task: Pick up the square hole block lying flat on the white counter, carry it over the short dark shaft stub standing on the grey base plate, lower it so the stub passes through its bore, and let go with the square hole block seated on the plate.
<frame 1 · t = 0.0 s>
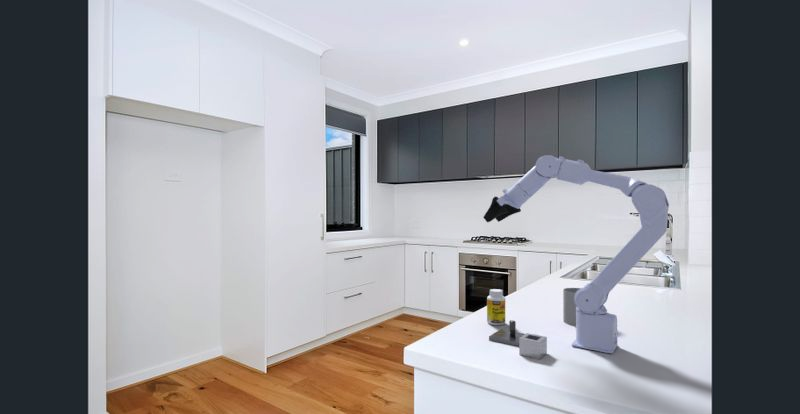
hand: (491, 219, 119), 32 cm above the table, tool tilted 50°, fingers open, 7 cm apart
cup: (577, 323, 123), on the table
square hole block: (533, 353, 97), on the table
supplement bottle: (496, 323, 123), on the table
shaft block: (512, 339, 107), on the table
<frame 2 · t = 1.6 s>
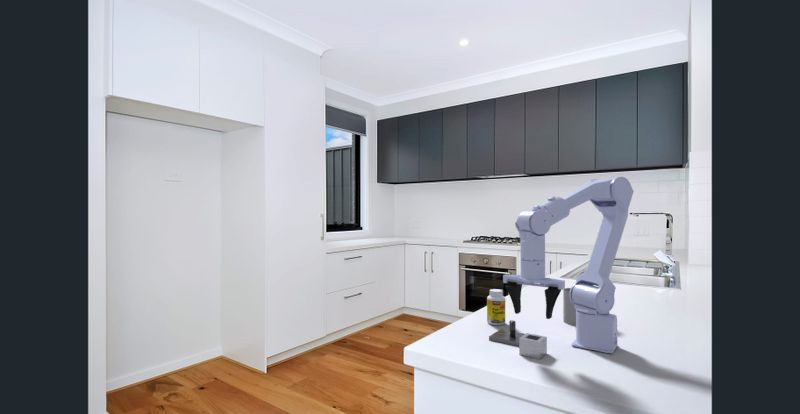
hand: (532, 315, 97), 9 cm above the table, tool pointing down, fingers open, 7 cm apart
nothing on the table moved.
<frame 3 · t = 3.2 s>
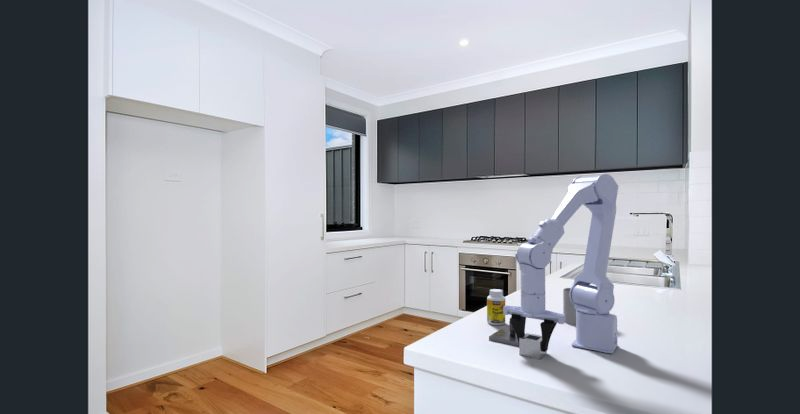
hand: (533, 348, 97), 1 cm above the table, tool pointing down, fingers closed on square hole block, 5 cm apart
square hole block: (533, 353, 97), on the table, touching gripper
everything else where it was.
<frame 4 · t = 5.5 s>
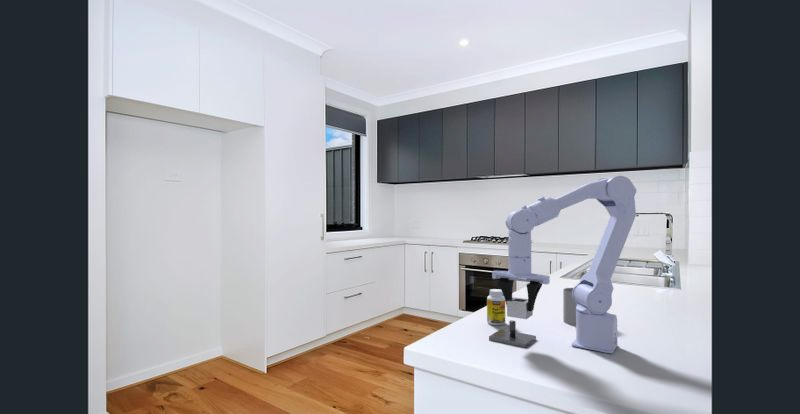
hand: (519, 308, 103), 9 cm above the table, tool pointing down, fingers closed on square hole block, 5 cm apart
square hole block: (519, 315, 103), point 8 cm above the table, touching gripper
everything else where it was.
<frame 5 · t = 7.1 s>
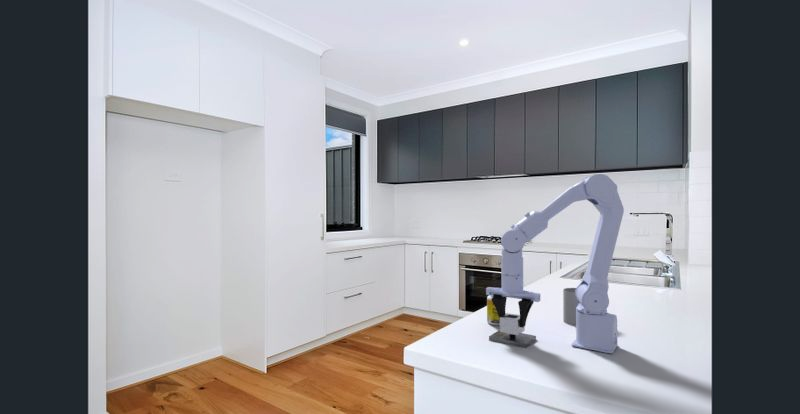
hand: (512, 324, 107), 4 cm above the table, tool pointing down, fingers closed on square hole block, 5 cm apart
square hole block: (512, 331, 107), point 2 cm above the table, touching gripper
everything else where it was.
when the fingers open (4 cm above the table, at t = 8.1 s): square hole block drops 1 cm, resting on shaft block.
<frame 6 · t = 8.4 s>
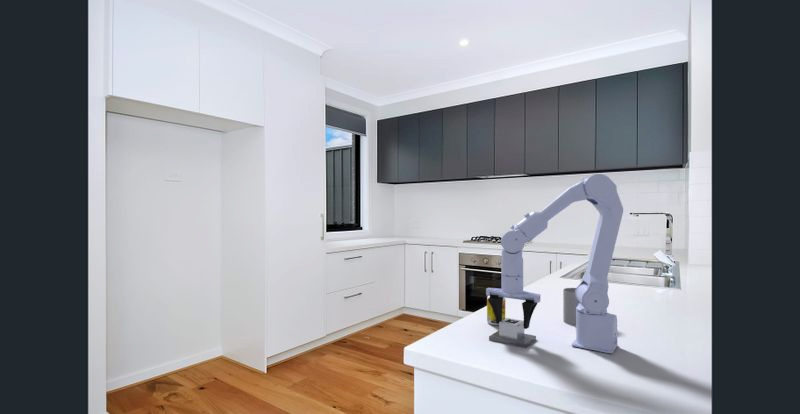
hand: (512, 325, 107), 4 cm above the table, tool pointing down, fingers open, 7 cm apart
square hole block: (511, 336, 107), point 1 cm above the table, touching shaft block
everything else where it was.
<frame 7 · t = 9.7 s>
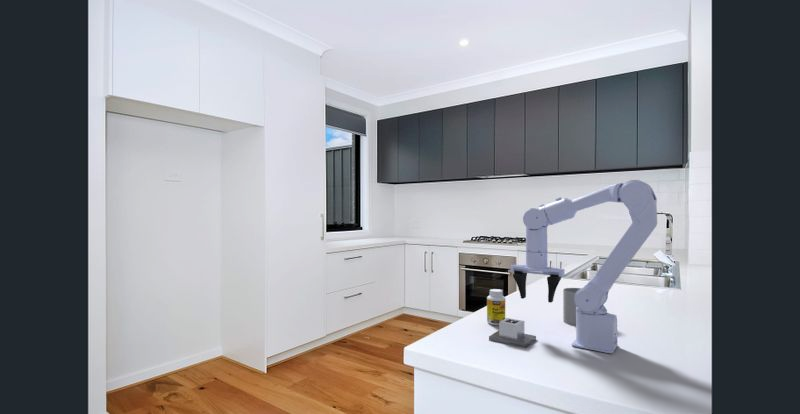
hand: (536, 299, 111), 10 cm above the table, tool pointing down, fingers open, 7 cm apart
nothing on the table moved.
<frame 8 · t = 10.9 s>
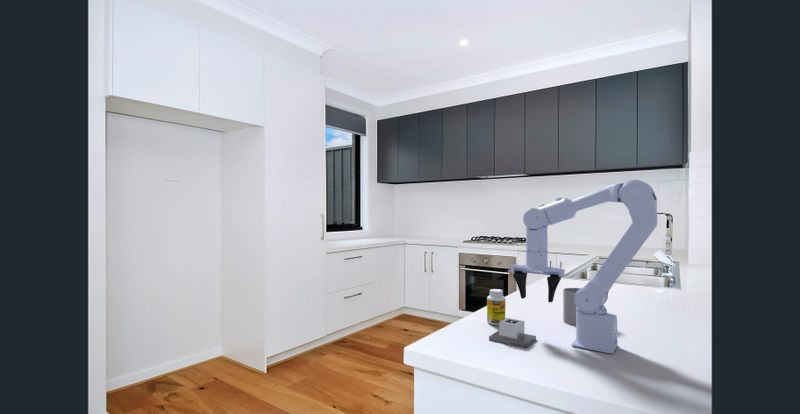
hand: (536, 299, 111), 10 cm above the table, tool pointing down, fingers open, 7 cm apart
nothing on the table moved.
at the end: square hole block 0.2 cm off-centre on the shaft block, point 1.0 cm above the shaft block's base; square hole block tilted 0°; the gripper is holding nothing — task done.
